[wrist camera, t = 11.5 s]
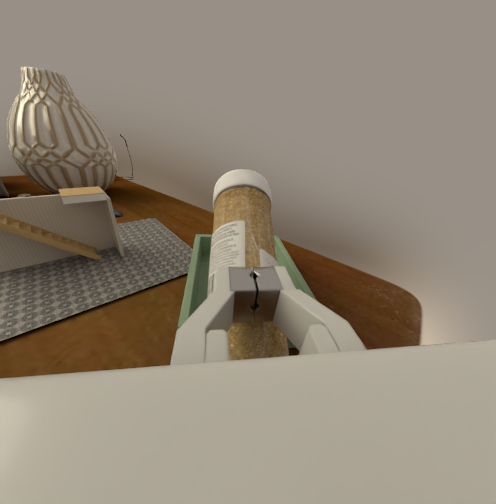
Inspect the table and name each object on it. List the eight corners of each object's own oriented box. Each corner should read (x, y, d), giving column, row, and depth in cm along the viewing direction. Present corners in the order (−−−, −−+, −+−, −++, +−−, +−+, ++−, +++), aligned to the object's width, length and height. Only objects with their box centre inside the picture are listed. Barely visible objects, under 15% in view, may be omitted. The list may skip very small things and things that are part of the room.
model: (124, 255, 24) (107, 188, 20) (-15, 291, 17) (-80, 202, 13) (117, 244, 26) (101, 182, 22) (-10, 273, 19) (-65, 191, 15)
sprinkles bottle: (317, 387, 9) (280, 177, 16) (211, 393, 7) (224, 157, 14) (266, 385, 12) (255, 215, 19) (188, 389, 10) (207, 202, 18)
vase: (111, 181, 54) (88, 85, 44) (134, 195, 45) (112, 78, 35) (26, 187, 43) (-29, 63, 34) (34, 207, 34) (-39, 44, 24)
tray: (317, 346, 15) (328, 318, 14) (181, 357, 14) (177, 326, 12) (274, 255, 27) (277, 235, 25) (196, 256, 25) (195, 234, 24)
